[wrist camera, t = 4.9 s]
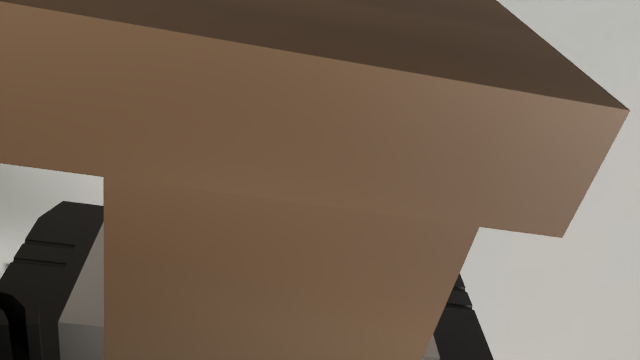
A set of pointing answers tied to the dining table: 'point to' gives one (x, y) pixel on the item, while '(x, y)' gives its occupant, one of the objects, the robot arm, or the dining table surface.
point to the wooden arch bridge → (297, 160)
